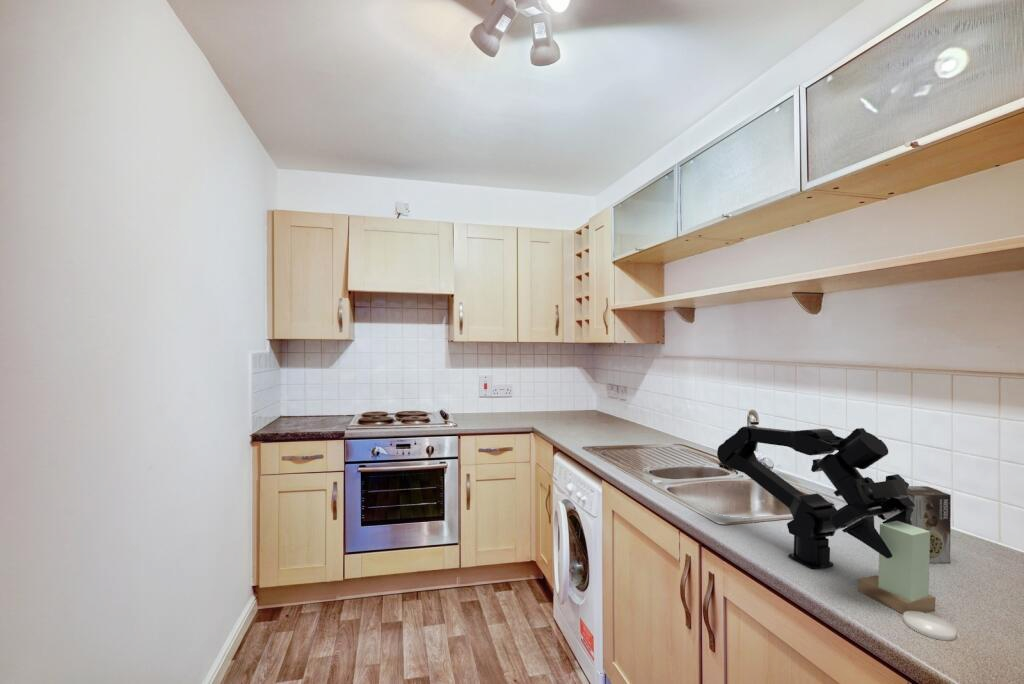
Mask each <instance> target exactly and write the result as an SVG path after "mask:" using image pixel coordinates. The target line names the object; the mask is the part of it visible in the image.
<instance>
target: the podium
mask: <svg viewBox="0 0 1024 684" xmlns="http://www.w3.org/2000/svg"><path fill="white" fill-rule="evenodd" d="M878 582H879V574H877V575H873V576H872V575H871V576H867V577H861V578H858V587H857V589H858V590H857V591H858V592H859V591H860V593H861V592H862V594H863V593H864V595H865V594H866V595H865V596H867V595H868V596H867V597H869V596H870V597H869V598H871V597H872V598H871V599H873V600H875V601H877V602H879V603H881V604H882V605H884V604H885V605H884V606H886V605H887V607H888V606H889V608H890V607H891V608H890V609H892V608H893V609H892V610H894V611H896V612H898V613H900V614H902V615H903V614H904V612H906V611H919V612H925V613H929V612H934V611H936V596H934V595H931V594H929V597H926V598H923V599H920V600H916V601H913V602H910V601H907V600H905V599H903V598H901V597H899V596H896V595H894V594H892V593H890V592H888V591H885V590H883V589H881V588H879V587H878Z"/></svg>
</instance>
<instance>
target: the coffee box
mask: <svg viewBox="0 0 1024 684" xmlns="http://www.w3.org/2000/svg"><path fill="white" fill-rule="evenodd" d="M907 492H908V494H909V495H904V496H906V497H908V498H909V499H910V500H911V501H912V502H913V503H914V505H915V507H913V509H914V512H912V514H911V518H910V520H911V524H912V526H915V527H918V528H921V529H924V530H927V531H930V557H929V564H936V563H937V564H942V563H943V564H950V563H951V527H952V526H951V514H952V513H951V511H952V510H951V509H952V508H951V507H952V506H951V504H952V502H951V501H952V500H951V499H952V497H951V496H952V494H949V493H948V492H947V493H946V492H943V491H942V490H939V489H937V488H933V487H930V486H925V485H923V486H922V485H921V486H917V485H916V486H915V485H912V486H911V485H909V486H908V489H907ZM902 496H903V495H902ZM911 509H912V508H911Z"/></svg>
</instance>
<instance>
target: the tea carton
mask: <svg viewBox="0 0 1024 684" xmlns="http://www.w3.org/2000/svg"><path fill="white" fill-rule="evenodd" d="M879 535H880V536H881V538H882V539H883V541H884V542H885V544H886V545H887V547H888V548H889V550H890V552H891V554H892V555H893V557H891V558H889V559H888V558H886V557H884V556H883V555H881V554H880V553H878V575H879V582H878V587H879V588H881V589H883V590H885V591H888V592H890V593H892V594H894V595H896V596H899V597H901V598H903V599H905V600H907V601H910V602H913V601H916V600H920V599H923V598H926V597H929V595H930V590H929V589H930V563H929V557H930V531H927V530H924V529H921V528H918V527H915V526H912V525H909V524H906V523H903V522H900V521H893V522H888V523H880V524H879Z"/></svg>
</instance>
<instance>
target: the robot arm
mask: <svg viewBox="0 0 1024 684" xmlns="http://www.w3.org/2000/svg"><path fill="white" fill-rule="evenodd" d="M758 444H766V445H772V446H773V445H774V446H780V447H786V448H787V447H788V448H790V449H792V450H794V451H795V452H797V453H798V452H799V453H800V454H804V455H807V456H820V455H824V456H823V457H821V458H818V459H817V458H816V459H812V465H811V468H810V471H811V473H817V472H818V473H819V472H823V474H824V475H825V477H827V478H828V479H829V481H830V483H831V484H832V485H833V487H834V488H835V490H834V491H833V494H834V495H835V496H836V497H842V498H843V500H844V501H845V503H846V504H845V505H844V506H842V507H841V508H839V509H837V508H836V507H835V506H834V505H835V504H834V503H832V502H831V501H829V500H827V499H825V498H824V497H823V496H822V495H821V494H819V493H817V492H816V493H811V494H810V493H809V494H805V493H802V492H801V491H800V490H798V489H797V488H796V487H794V486H793V485H792V484H790V483H789V482H788V481H786V480H785V479H783V477H781V476H779V475H778V474H777V473H775V472H774V471H772V469H770V468H769V467H768V466H766V465H765V464H763V463H762V462H761V461H759V460H758V459H757V458H758V457H757V456H756V454H755V451H756V450H757V447H758ZM836 451H837V452H836ZM716 452H717V453H716V454H717V455H716V456H717V460H719V462H720V463H721V464H722V465H724V466H726V467H727V468H729V469H731V470H734V471H737V472H740V473H742V474H743V473H744V474H745V475H746V476H747V477H749V478H750V479H751V480H752V481H754V482H755V483H756V484H757V485H759V486H760V487H762V488H763V489H764V490H765V491H766V492H767V493H769V494H770V495H771V496H772V497H774V498H775V499H777V500H778V501H779V502H780V503H782V504H783V505H784V506H785V507H786V508H788V509H789V511H790V514H791V517H792V518H793V519H792V520H790V521H788V522H787V523H786V526H787V530H788V533H789V534H790V535H793V552H792V553H788V557H789V558H790V559H792V560H795V561H797V562H798V563H800V564H803V565H804V566H806V567H807V568H810V569H812V570H813V569H820V568H828V567H832V566H834V563H833V562H832V561H831V547H830V546H829V544H830V539H829V538H827V537H833V536H835V534H836V531H838V530H841V531H842V532H843V533H847V534H849V535H850V536H851V537H853V538H855V539H857V540H858V541H860V542H862V543H863V544H865V545H867V546H868V547H869V548H871V549H872V550H874V551H875V552H877V554H879V553H880V554H881V555H883V556H884V557H886V558H888V559H889V558H891V557H893V555H892V554H891V552H890V550H889V548H888V547H887V545H886V544H885V542H884V541H883V539H882V538H881V536H880V532H878V531H877V529H876V528H875V517H876V516H877V517H878V518H879V519H880V520H883V521H882V522H881V524H883V523H888V522H893V521H900V522H903V523H906V524H909V525H912V524H911V520H910V518H911V514H912V512H914V509H913V507H915V505H914V503H913V502H912V501H911V500H910V499H909V498H908V497H906V496H904V495H909V494H908V492H907V489H908V486H910V484H909V483H908V482H907V481H906V480H905V479H904V478H903V477H902V476H901V475H900V474H899V473H897V474H891V475H886V476H885V480H883V481H877V482H875V481H874V480H873V479H872V478H871V477H869V476H866V477H863V475H862V474H861V473H860V472H859V470H865V469H867V468H870V467H871V466H872V465H874V464H875V463H877V462H878V461H880V460H881V459H883V458H884V457H886V456H887V455H888V454H889V448H888V447H887V444H885V442H884V441H883V440H882V439H880V438H878V437H877V436H875V435H874V434H872V433H870V432H867V431H866V429H865V428H864V427H860V428H855V429H854V430H852V431H851V433H850V434H849V435H847V436H846V437H841V436H838V435H836V434H834V432H833V431H832V430H830V429H828V428H815V429H812V428H811V429H803V430H802V429H801V430H789V429H781V428H779V429H778V428H771V427H770V428H769V427H768V428H767V427H760V426H756V425H752V426H751V425H747V426H742V427H740V428H739V429H738V430H737V431H736V433H734V434H733V435H731V436H730V437H729V438H727V439H726V440H724V442H722V444H720V445H718V448H717V451H716ZM858 469H859V470H858ZM902 495H903V496H902ZM911 508H912V509H911Z"/></svg>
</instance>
